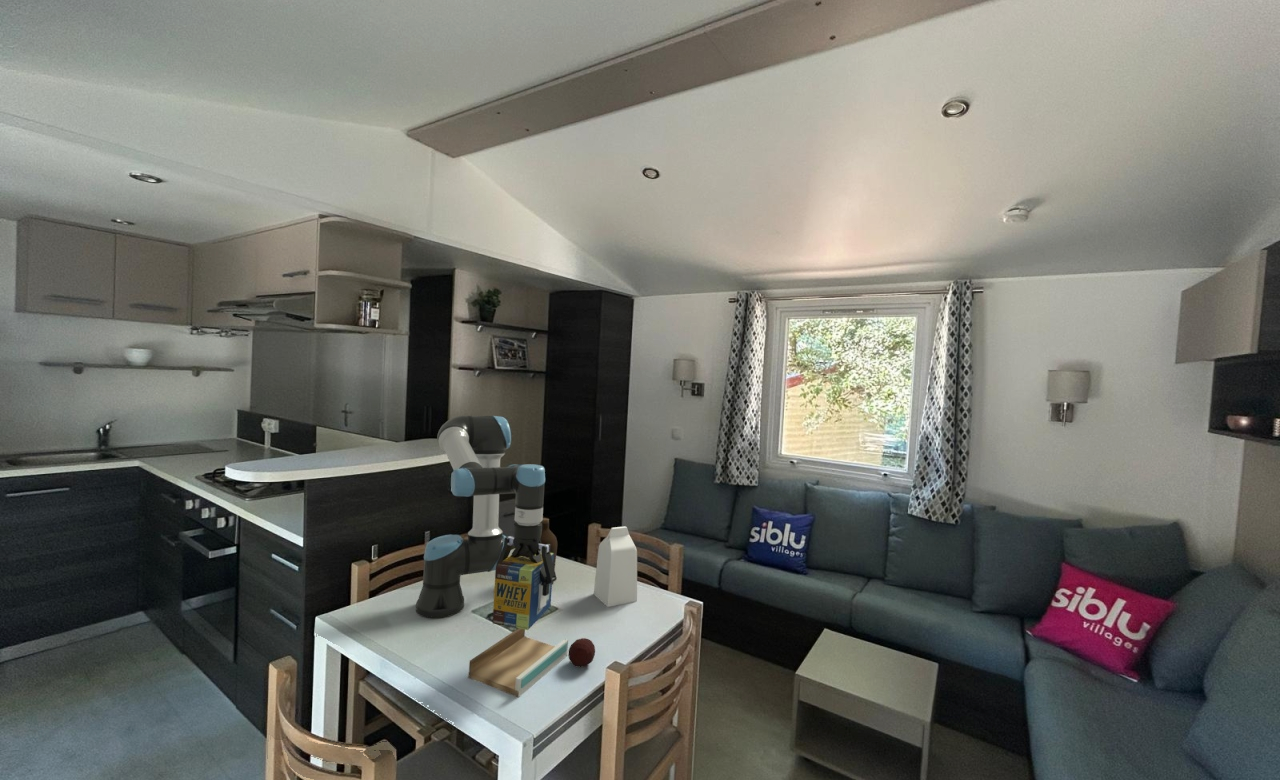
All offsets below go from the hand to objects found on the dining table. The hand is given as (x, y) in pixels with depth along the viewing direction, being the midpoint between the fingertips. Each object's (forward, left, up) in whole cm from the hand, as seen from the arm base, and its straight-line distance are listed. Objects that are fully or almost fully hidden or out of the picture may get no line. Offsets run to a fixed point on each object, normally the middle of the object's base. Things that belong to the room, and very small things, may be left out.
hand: (523, 601), depth 138 cm
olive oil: (-28, +49, -18) cm, 59 cm away
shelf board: (0, 0, -18) cm, 18 cm away
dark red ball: (+14, +9, -18) cm, 25 cm away
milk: (+2, +53, -18) cm, 56 cm away
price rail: (+8, 0, -18) cm, 20 cm away
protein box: (0, 0, -4) cm, 4 cm away
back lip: (-8, 0, -18) cm, 19 cm away
